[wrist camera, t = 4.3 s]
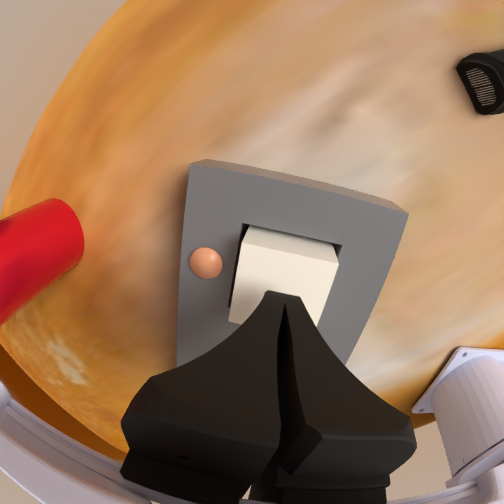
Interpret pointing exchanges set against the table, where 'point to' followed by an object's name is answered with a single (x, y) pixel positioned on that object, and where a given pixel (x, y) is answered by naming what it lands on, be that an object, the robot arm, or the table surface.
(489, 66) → the electric trimmer
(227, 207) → the key panel
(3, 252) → the bottle
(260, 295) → the key
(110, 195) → the table surface
